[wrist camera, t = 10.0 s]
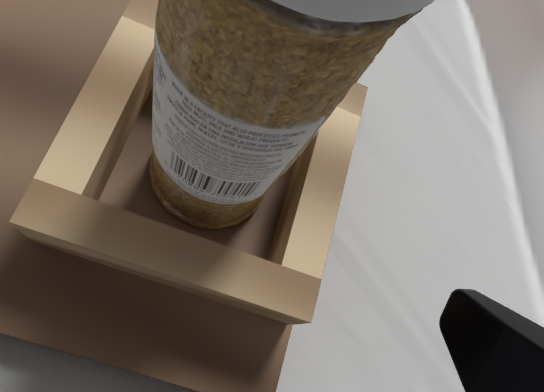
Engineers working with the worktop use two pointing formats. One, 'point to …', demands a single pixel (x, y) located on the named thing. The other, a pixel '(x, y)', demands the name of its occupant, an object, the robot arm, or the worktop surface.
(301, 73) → the spice jar
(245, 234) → the socket
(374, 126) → the worktop surface
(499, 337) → the robot arm
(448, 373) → the worktop surface
